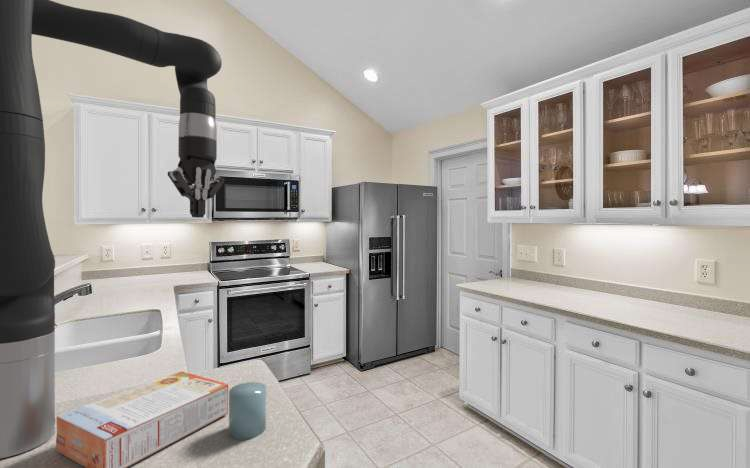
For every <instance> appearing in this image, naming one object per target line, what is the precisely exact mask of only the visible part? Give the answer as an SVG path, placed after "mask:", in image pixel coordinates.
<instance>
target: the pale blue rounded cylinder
mask: <svg viewBox="0 0 750 468" xmlns="http://www.w3.org/2000/svg"><path fill="white" fill-rule="evenodd" d="M266 416H267V387H266V385H265V384H264V383H263V382H259V381H258V382H257V381H249V382H243V383H239V384H237V385H235V386H233V387H231V388H230V389H229V390H228V435H229V436H230V438H232V439H234V440H239V441H245V440H249V439H250V440H251V439H254V438H257V437H258V436H259V437H260V435H262V434H264V432H265V431H266V428H267V426H266V424H267V421H266V420H267V419H266V418H267V417H266Z"/></svg>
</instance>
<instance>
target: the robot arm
mask: <svg viewBox="0 0 750 468" xmlns="http://www.w3.org/2000/svg"><path fill="white" fill-rule="evenodd" d="M33 35H35V36H41V37H43V38H44V37H45V38H46V37H47V38H50V39H54V40H55V39H56V40H60V41H64V42H67V43H73V44H76V45H77V44H78V45H81V46H84V47H85V46H86V47H90V48H93V49H96V50H101V51H104V52H108V53H110V54H114V55H117V56H120V57H124V58H127V59H129V60H133V61H136V62H139V63H142V64H146V65H149V66H153V67H155V68H156V67H157V68H166V67H174V73H175V78H176V82H177V83H176V84H177V88H178V91H179V95H180V99H179V120H178V121H179V122H178V145H177V146H178V158H179V162H178V163H177V167H176V168H175V169H173V170H170V171H168V172H167V176H168V178H169V179H170V181H171V182H172V183H173V185H174V187H175V188H176V190H177V191H178V193H179V194H180V196H181V197H185V198H187V199H188V201H189V213H190V215H191V217H192V218H197V219H198V218H202V219H203V218H204V217H205V215H206V206H207V205H206V203H207V200H209V199H213V198H215V196H216V194H217V193H218V192H219V190H221V187H222V186H223V184H224V183H225V181H226V180H225V178H224V177H220V175H218V174H217V168H216V166H215V163H216V161H217V153H218V152H217V150H218V149H217V136H218V135H217V130H218V129H217V123H216V111H217V110H216V98H215V96H214V94H213V93H212V91H210V90H208V79H210V78H212V77H214V76H215V75H217V74H218V73H219V72H220V70H221V68H222V65H223V64H222V63H223V61H222V56H221V55H220V53H219V52H218V50H217V49H216V48H215V47H214V46H213V45H211V44H210V43H209V42H206V41H205V40H202V39H200V38H197V37H192V36H189V35H185V34H180V33H173V32H166V31H163V30H160V29H157V28H156V27H153V26H151V25H149V24H145V23H143V22H141V21H137V20H135V19H132V18H129V17H127V16H123V15H120V14H115V13H110V12H104V11H96V10H92V9H91V10H90V9H85V8H81V7H80V8H79V7H74V6H71V5H66V4H64V3H59V2H57V1H54V0H0V459H4V458H8V457H9V458H10V457H13V456H16V455H19V454H22V453H26V452H28V451H30V450H33V449H35V448H36V447H39V446H41V445H43V444H44V443H46V442H47V441H49V440H50V439H51V438H52V437H53V436H54V435H55V430H56V428H55V427H56V425H55V424H56V412H55V411H56V410H55V409H56V406H55V405H56V401H55V399H56V395H55V394H56V391H55V389H56V387H55V385H56V382H55V379H56V378H55V377H56V373H55V372H56V371H55V369H56V365H55V364H56V361H55V359H56V358H55V357H56V354H55V349H56V346H55V345H56V344H55V343H56V340H55V337H56V335H55V334H56V333H55V332H56V330H55V329H56V328H55V327H56V325H55V324H56V313H55V311H56V310H55V307H56V305H55V268H56V259H55V255H54V253H53V250H52V246H51V243H50V239H49V235H48V231H47V226H46V221H45V214H44V208H43V207H44V206H43V192H44V190H43V189H44V183H45V181H44V180H45V172H46V142H45V141H46V140H45V139H46V138H45V130H44V129H45V128H44V119H43V110H42V103H41V98H40V97H41V96H40V91H39V85H38V80H37V74H36V69H35V64H34V59H33V48H32V45H33V43H32V37H33Z"/></svg>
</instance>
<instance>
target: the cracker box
mask: <svg viewBox="0 0 750 468" xmlns="http://www.w3.org/2000/svg"><path fill="white" fill-rule="evenodd" d="M226 415H229V384H228V383H226V382H225V383H224V382H221V381H218V380H214V379H211V378H207V377H204V376H200V375H196V374H193V373H188V372H185V371H179V372H177V373H173V374H171V375H168V376H165V377H162V378H159V379H156V380H154V381H151V382H148V383H145V384H143V385H140V386H137V387H134V388H132V389H129V390H125V391H122V392H120V393H117V394H114V395H111V396H108V397H106V398H104V399H100V400H98V401H95V402H91V403H89V404H87V405H82V406H81V407H77V408H76V409H72V410H70V411H67V412H64V413H60V414H59V415H57V416H56V437H55V438H56V439H55V441H56V442H55V443H56V447H55V449H56V452H57V453H60V454H61V455H63V456H65V457H66V458H68V459H70V460H72V461H73V462H75V463H77V464H79V465H81V466H82V467H84V468H129V467H130V466H131V465H134V464H135V463H137V462H140V461H142V460H143V459H145V458H148V457H149V456H150V455H152V454H154V453H156V452H158V451H160V450H162V449H164V448H165V447H168V446H170V445H171V444H173V443H175V442H177V441H178V440H181V439H183V438H184V437H186V436H188V435H190V434H192V433H194V432H196V431H198V430H199V429H201V428H203V427H205V426H207V425H209V424H211V423H212V422H214V421H216V420H218V419H220V418H221V417H224V416H226Z"/></svg>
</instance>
